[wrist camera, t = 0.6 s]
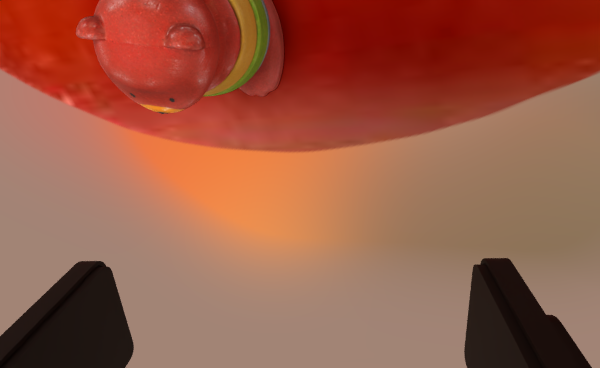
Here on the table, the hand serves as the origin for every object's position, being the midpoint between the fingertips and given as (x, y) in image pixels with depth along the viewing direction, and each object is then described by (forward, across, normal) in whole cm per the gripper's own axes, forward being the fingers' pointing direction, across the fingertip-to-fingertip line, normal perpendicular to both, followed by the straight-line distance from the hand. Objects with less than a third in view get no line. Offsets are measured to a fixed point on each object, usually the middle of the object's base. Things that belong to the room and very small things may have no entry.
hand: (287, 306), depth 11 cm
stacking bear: (+30, +9, -6) cm, 32 cm away
